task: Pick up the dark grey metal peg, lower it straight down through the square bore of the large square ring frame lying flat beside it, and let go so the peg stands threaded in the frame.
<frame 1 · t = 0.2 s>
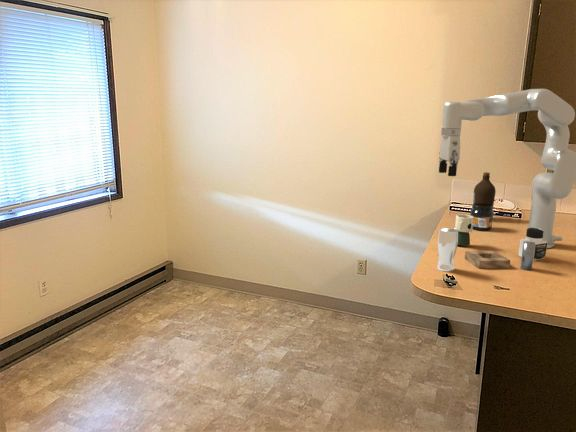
hand: (447, 174, 206), 31 cm above the worktop, tool pointing down, fingers open, 9 cm apart
supplement container: (480, 229, 244), on the worktop
medicine bottle: (531, 258, 199), on the worktop
character mug: (461, 245, 215), on the worktop
beer glass: (445, 269, 184), on the worktop
square ring frame: (486, 263, 192), on the worktop
olive oil: (481, 219, 264), on the worktop
metal peg: (526, 268, 186), on the worktop
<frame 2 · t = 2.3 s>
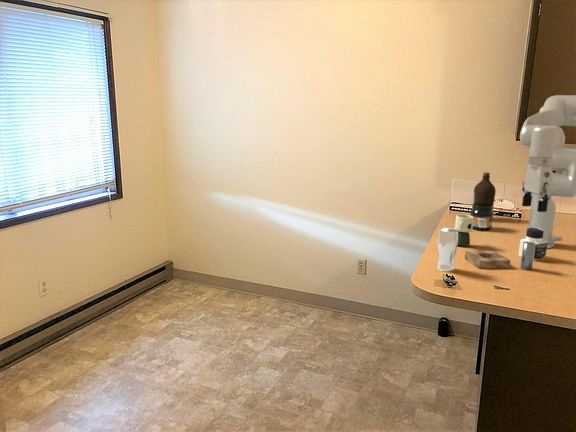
hand: (533, 208, 180), 23 cm above the worktop, tool pointing down, fingers open, 9 cm apart
nothing on the worktop moved.
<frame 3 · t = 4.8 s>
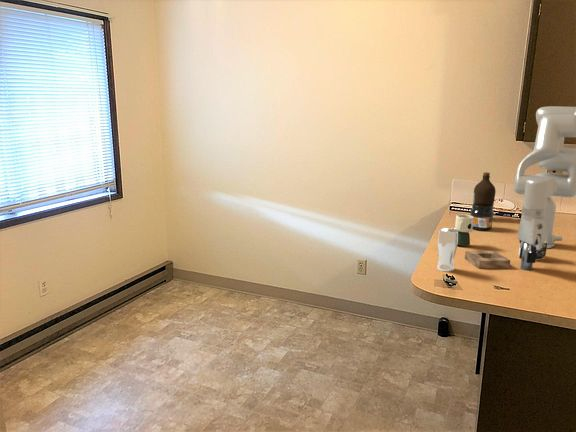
hand: (527, 260, 185), 3 cm above the worktop, tool pointing down, fingers closed on metal peg, 4 cm apart
metal peg: (526, 268, 186), on the worktop, touching gripper
everything else where it was.
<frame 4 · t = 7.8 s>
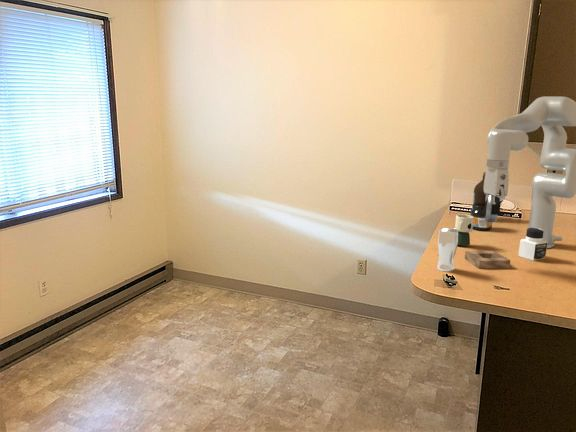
hand: (491, 212, 187), 20 cm above the worktop, tool pointing down, fingers closed on metal peg, 4 cm apart
metal peg: (490, 221, 188), point 17 cm above the worktop, touching gripper
everything else where it was.
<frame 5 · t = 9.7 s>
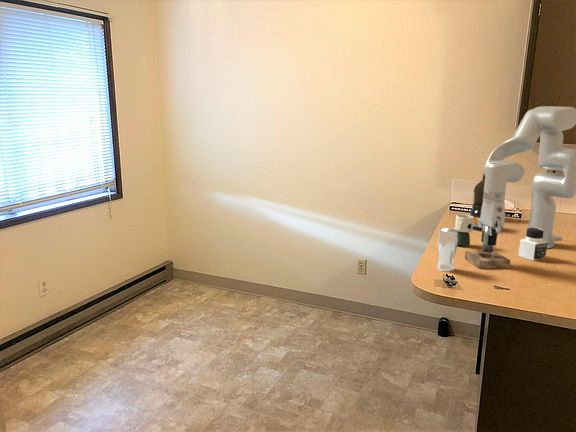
hand: (488, 243, 190), 8 cm above the worktop, tool pointing down, fingers closed on metal peg, 4 cm apart
metal peg: (487, 251, 190), point 5 cm above the worktop, touching gripper
everything else where it was.
when the fingers open (4 cm above the worktop, at t = 11.1 s): metal peg stays where it is, resting in square ring frame.
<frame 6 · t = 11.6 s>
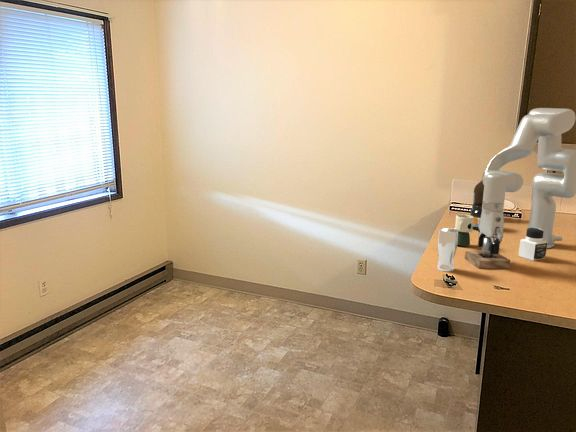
hand: (487, 250, 190), 5 cm above the worktop, tool pointing down, fingers open, 9 cm apart
metal peg: (486, 263, 192), resting in square ring frame
everything else where it was.
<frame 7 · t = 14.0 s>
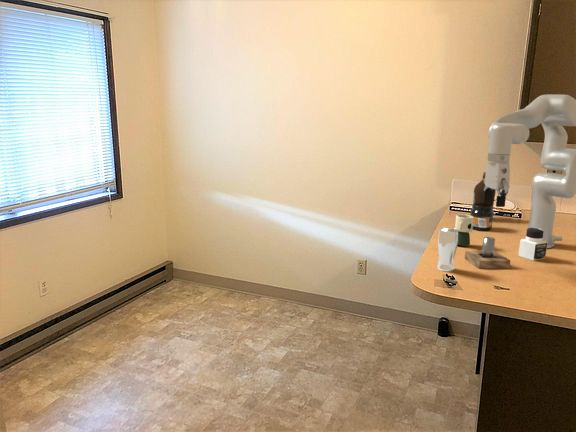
hand: (493, 203, 187), 23 cm above the worktop, tool pointing down, fingers open, 9 cm apart
nothing on the worktop moved.
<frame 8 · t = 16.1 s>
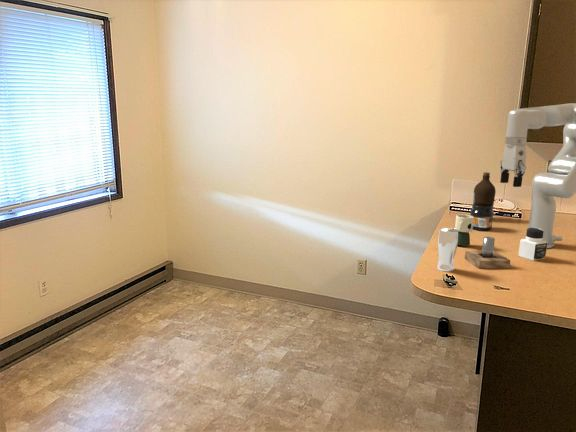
hand: (510, 184, 200), 28 cm above the worktop, tool pointing down, fingers open, 9 cm apart
nothing on the worktop moved.
at the end: metal peg 0.0 cm from the square ring frame (horizontally); metal peg resting in square ring frame; metal peg tilted 0° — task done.
